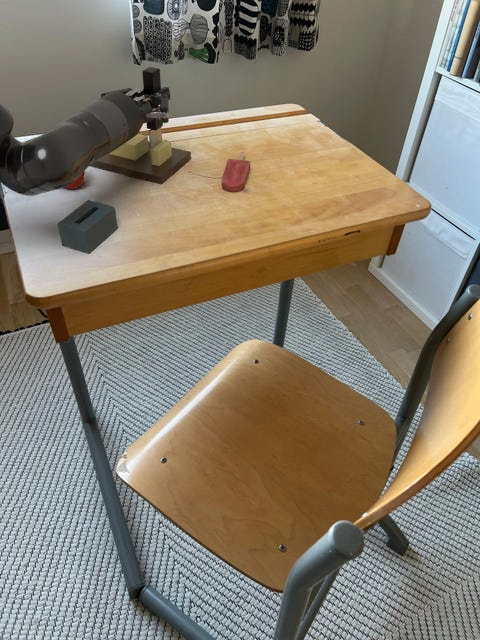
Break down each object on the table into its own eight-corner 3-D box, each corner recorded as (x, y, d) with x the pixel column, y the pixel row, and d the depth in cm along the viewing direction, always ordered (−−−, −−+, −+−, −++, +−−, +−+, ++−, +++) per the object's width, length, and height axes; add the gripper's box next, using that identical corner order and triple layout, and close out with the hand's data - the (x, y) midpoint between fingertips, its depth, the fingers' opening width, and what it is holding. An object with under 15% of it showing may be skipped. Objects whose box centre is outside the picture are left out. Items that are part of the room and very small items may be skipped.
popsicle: (253, 149, 103) (243, 185, 93) (253, 157, 105) (243, 194, 94) (231, 147, 104) (219, 183, 93) (231, 155, 105) (219, 191, 94)
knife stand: (62, 245, 79) (56, 223, 77) (92, 221, 85) (88, 199, 82) (89, 254, 78) (84, 231, 75) (118, 228, 84) (115, 206, 81)
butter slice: (151, 164, 97) (150, 149, 95) (164, 154, 101) (163, 139, 99) (159, 166, 97) (158, 151, 95) (171, 156, 100) (171, 141, 98)
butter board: (80, 163, 100) (78, 156, 99) (114, 140, 108) (113, 133, 107) (161, 184, 95) (161, 177, 94) (191, 158, 103) (190, 151, 102)
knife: (147, 160, 98) (139, 71, 87) (157, 152, 100) (151, 65, 90) (156, 163, 97) (150, 73, 86) (166, 155, 100) (161, 67, 89)
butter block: (109, 154, 100) (107, 139, 98) (123, 144, 103) (121, 129, 101) (135, 160, 98) (134, 145, 96) (149, 150, 102) (147, 135, 100)
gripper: (143, 108, 77) (195, 76, 89) (66, 92, 80) (126, 62, 92) (147, 156, 82) (195, 119, 94) (74, 138, 86) (130, 105, 97)
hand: (161, 91), depth 93 cm, fingers closed on knife, 2 cm apart
